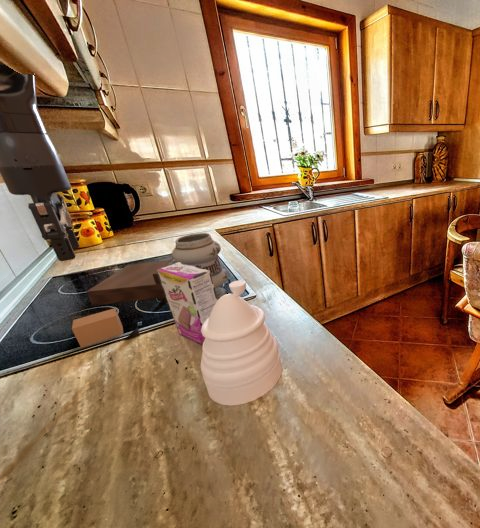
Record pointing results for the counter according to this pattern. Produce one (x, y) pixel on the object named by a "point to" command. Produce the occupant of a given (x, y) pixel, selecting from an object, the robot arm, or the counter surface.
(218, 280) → the apothecary jar
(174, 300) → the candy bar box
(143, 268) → the shelf
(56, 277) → the counter surface
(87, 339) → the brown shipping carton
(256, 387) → the honey pot
